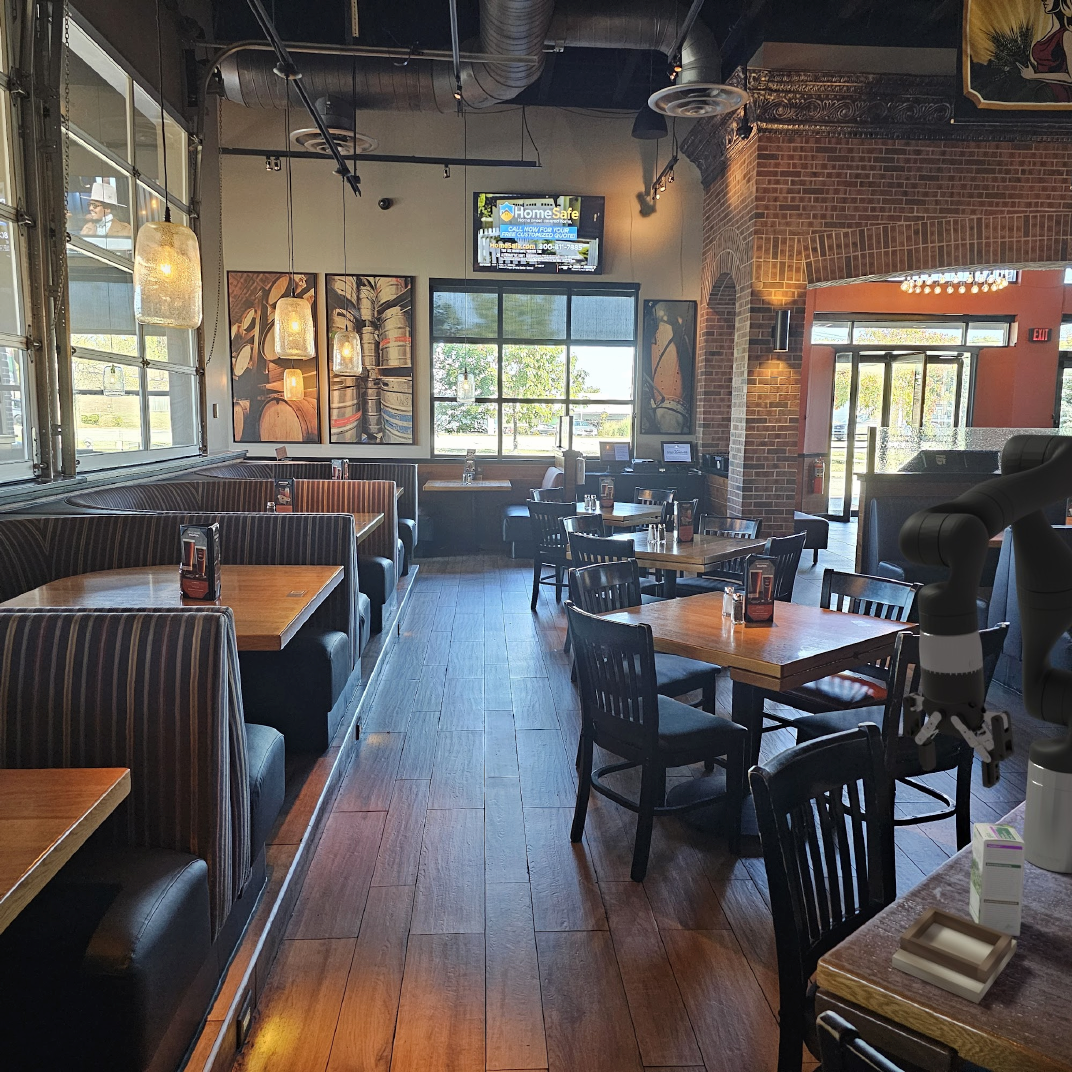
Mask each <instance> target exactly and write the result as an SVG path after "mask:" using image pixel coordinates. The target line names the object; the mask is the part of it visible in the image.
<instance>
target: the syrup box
mask: <svg viewBox="0 0 1072 1072" xmlns="http://www.w3.org/2000/svg"><path fill="white" fill-rule="evenodd" d="M971 847H972V848H971V862H970V863H971V864H970V866H971V867H970V878H969V879H970V881H969V898H968V899H969V900H968V914H969V915H970V916H971V919H973V922H975V923H978V924H981V925H983V926H986V927H989V928H991V929H994V930H997V931H999V932H1002V933H1005V934H1007V935H1010V936H1012V937H1014V936H1016V937H1020V935H1021V925H1022V924H1021V922H1022V921H1021V920H1022V909H1023V907H1022V906H1023V894H1024V893H1023V891H1024V890H1023V889H1024V876H1025V875H1024V874H1025V873H1024V871H1025V858H1024V856H1025V842H1024V841H1023V837H1021V836H1020V835H1019V833H1018V832H1017V830H1016V829H1015V828H1014V827H1013V825H1008V824H1002V823H992V822H989V823H988V822H973V829H972V843H971Z"/></svg>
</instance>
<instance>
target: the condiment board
mask: <svg viewBox="0 0 1072 1072" xmlns="http://www.w3.org/2000/svg"><path fill="white" fill-rule="evenodd" d="M899 940H900V941H899V949H898V950H897V951H896V952H895V953H893V955H892V957H891V959H892V960H891V967H892V968H894V969H896V970H899V971H901V972H903V973H907V974H908V975H910V976H913V977H915V978H917V979H920V980H922V981H924V982H926V983H928V984H932V985H934V986H936V987H938V988H940V989H943V990H945V991H947V992H950V993H952V994H954V995H957V996H959V997H961V998H963V999H966V1000H968V1001H970V1002H973V1003H975V1004H977V1005H978V1004H979V1003H980V1002H981V1000H982V999H983V998H984V996H985V995H986V994H987V992H988V991H989V989H990V988H991V986H992V985H993V983H994V982H995V981H996V979H997V978H998V977H999V975H1000V974H1001V973H1002V971H1003V969H1005V967H1006V965H1007V964H1008V963H1009V962H1010V960H1011V959H1012V957H1013V956H1014V954H1015V953H1016V952H1017V946H1018V943H1017V942H1018V940H1015V939H1013V936H1012V935H1007V934H1005V933H1002V932H999V931H997V930H994V929H991V928H989V927H986V926H983V925H981V924H978V923H975V922H974V920H973V921H972V920H970V919H967V918H964V917H962V916H960V915H956V914H954V913H951V912H948V911H946V910H944V909H940V908H937V907H935V906H933V905H929V907H928V908H926V910H925V911H923V912H922V913H921V915H920V916H919V917H918V918H916V920H915V921H914V922H913V923H912V924H910V926H909V927H908V928H907V929H906V930H905V931H904V932H903V933H902V934H901V935H900V939H899Z"/></svg>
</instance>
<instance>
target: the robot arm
mask: <svg viewBox="0 0 1072 1072" xmlns="http://www.w3.org/2000/svg"><path fill="white" fill-rule="evenodd" d="M1000 460H1001V461H1000V474H1001V475H1000V476H999V477H995V478H991V479H988V480H985V481H983V482H981V483H978V484H976V485H974V486H973V487H971V488H970V489H968V490H967V491H965V492H964V493H962V494H961V495H959V496H958V497H957V498H955V499H952V500H949V501H945V502H941V503H938V504H936V505H932V506H929V507H926V508H924V509H921V510H919V511H917V512H915V513H913V514H912V515H911V516H909V517H908V518H907V519H906V520H905V522H904V523H903V524H902V526H901V528H900V531H899V534H898V548H899V551H900V553H901V555H902V556H903V558H904V559H905V560H907V561H908V562H909V563H911V564H913V565H917V566H920V567H933V568H950V575H949V577H948V580H947V581H942V582H941V581H940V582H934V583H929V584H927V585H924V586H923V587H922V588H921V589H920V590H919V591H918V595H917V605H918V606H917V609H918V619H919V620H918V621H919V622H918V623H919V639H918V641H919V642H918V650H919V662H920V663H919V666H920V667H919V668H920V678H921V692H922V694H923V696H921V694H920V693H919V692H917V691H914V692H912V693H910V694H908V695H905V696H904V697H903V698H902V700H901V701H902V733H903V735H904V736H905V737H906V738H911V739H913V740H914V741H915V743H916V744H917V749H918V751H917V753H918V760H919V764H920V766H922V770H924V771H927V772H930V771H932V770H933V769H935V768H936V767H937V759H936V756H937V755H936V743H935V742H936V741H933V738H934V737H935V736H936V735H937V733H938V732H939V733H940V734H941V735H945V736H953V737H954V738H957V739H960V740H964V739H965V741H966V742H967V743H968V745H969V747H971V748H974V749H975V751H976V752H977V753H978V755H979V757H980V758H981V761H980V763H981V766H980V767H981V779H982V780H981V782H982V787H984V788H986V789H991V788H993V787H994V786H996V785H997V783H999V782H1000V780H1001V769H1000V768H1001V767H1000V762H1004V761H1006V760H1007V759H1009V758H1010V757H1013V755H1015V745H1014V744H1015V743H1014V737H1013V730H1012V729H1013V727H1012V720H1011V714H1010V712H1009V711H1007V710H1003V711H999V712H994V711H988V710H987V708H986V706H985V703H984V699H985V680H984V679H985V677H984V661H983V649H982V648H983V646H982V640H981V635H980V631H979V613H978V593H979V588H980V583H981V578H982V573H983V569H984V566H985V563H986V559H987V556H988V551H989V545H990V541H991V540H992V539H994V538H995V537H996V536H997V535H999V534H1000V533H1002V532H1003V531H1004V530H1006V529H1007V528H1008V527H1010V529H1011V536H1012V544H1013V554H1014V555H1013V556H1014V571H1015V572H1014V573H1015V575H1014V576H1015V586H1016V588H1015V589H1016V596H1017V597H1016V598H1017V599H1016V600H1017V604H1018V613H1019V621H1020V631H1021V640H1022V641H1021V643H1022V645H1021V647H1022V648H1021V649H1022V653H1021V654H1022V655H1021V656H1022V657H1021V658H1022V662H1021V663H1022V667H1021V668H1022V672H1021V673H1022V676H1021V678H1022V680H1021V681H1022V682H1021V683H1022V686H1021V687H1022V691H1021V693H1022V702H1023V707H1024V710H1025V711H1026V714H1027V715H1028V716H1030V717H1031V718H1032V719H1034V720H1039V721H1042V722H1047V723H1050V724H1054V725H1059V726H1062V727H1067V728H1069V731H1068V732H1069V733H1068V734H1067V735H1065V736H1061V737H1046V738H1039V739H1036V740H1034V741H1033V742H1032V743H1031V744H1030V746H1029V753H1028V765H1027V766H1028V767H1027V777H1026V778H1027V779H1026V781H1027V782H1026V790H1025V792H1026V793H1025V805H1024V818H1023V831H1022V832H1023V833H1022V840H1023V841H1024V842H1025V856H1024V860H1026V861H1027V862H1029V863H1031V864H1033V865H1034V866H1037V867H1039V868H1041V869H1043V870H1047V871H1051V872H1056V873H1063V874H1072V670H1066V669H1062V668H1057V667H1053V666H1052V665H1051V661H1050V658H1051V657H1050V656H1051V652H1052V650H1053V648H1054V647H1055V646H1056V645H1057V643H1058V641H1059V640H1060V639H1061V637H1063V635H1064V634H1066V632H1067V631H1068V630H1069V629H1070V627H1071V626H1072V549H1071V548H1070V546H1069V545H1068V544H1067V543H1066V541H1065V540H1064V539H1063V538H1062V537H1061V536H1060V534H1059V533H1058V532H1057V531H1056V529H1055V528H1054V526H1053V525H1052V524H1051V523H1050V522H1049V520H1048V517H1047V516H1046V514H1045V512H1044V508H1046V507H1049V506H1051V505H1053V504H1056V503H1058V502H1061V501H1063V500H1067V499H1069V498H1071V497H1072V435H1067V434H1065V435H1063V434H1062V435H1061V434H1060V435H1059V434H1016V435H1013V436H1011V437H1010V438H1008V439H1007V441H1006V442H1005V443H1004V446H1003V449H1002V453H1001V458H1000ZM922 710H923V711H924V712H925V713H926V715H927V717H928V718H929V719H927V721H926V722H925V723H924V725H923V726H922V713H921V712H922ZM985 722H986V723H987V724H988V728H989V729H988V728H987V726H986V725H985V724H984V723H985ZM989 730H991V732H992V733H991V732H990V731H989ZM976 733H978V736H979V737H977V736H976V735H975V734H976Z"/></svg>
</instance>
